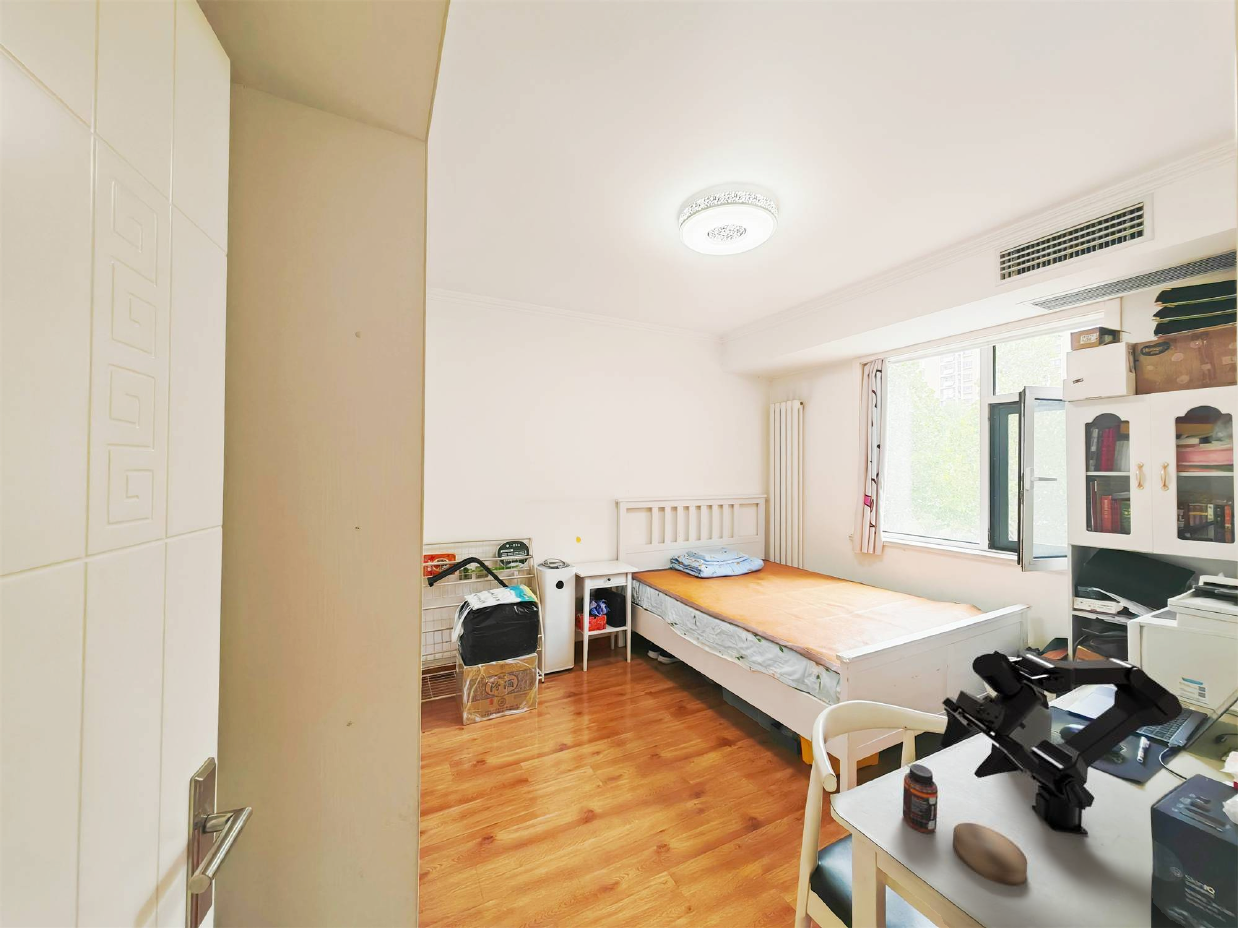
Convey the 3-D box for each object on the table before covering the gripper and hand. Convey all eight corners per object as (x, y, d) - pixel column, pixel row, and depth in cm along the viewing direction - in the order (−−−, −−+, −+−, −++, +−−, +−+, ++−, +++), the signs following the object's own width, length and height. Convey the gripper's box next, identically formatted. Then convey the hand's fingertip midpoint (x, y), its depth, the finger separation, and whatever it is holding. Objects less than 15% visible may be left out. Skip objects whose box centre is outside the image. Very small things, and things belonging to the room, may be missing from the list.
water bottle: (996, 745, 124) (1001, 641, 123) (1045, 759, 118) (1050, 651, 118) (999, 765, 116) (1004, 654, 115) (1052, 782, 110) (1058, 665, 109)
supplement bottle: (942, 837, 93) (944, 781, 93) (909, 831, 94) (911, 777, 94) (928, 814, 99) (930, 762, 99) (897, 809, 100) (899, 758, 100)
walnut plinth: (1001, 838, 93) (1001, 826, 93) (1042, 889, 82) (1043, 875, 82) (941, 831, 95) (941, 819, 95) (974, 879, 84) (974, 866, 84)
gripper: (950, 660, 106) (902, 709, 106) (1024, 705, 87) (967, 764, 87) (983, 693, 106) (936, 742, 106) (1064, 744, 88) (1007, 804, 88)
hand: (958, 760), depth 97 cm, fingers open, 9 cm apart
